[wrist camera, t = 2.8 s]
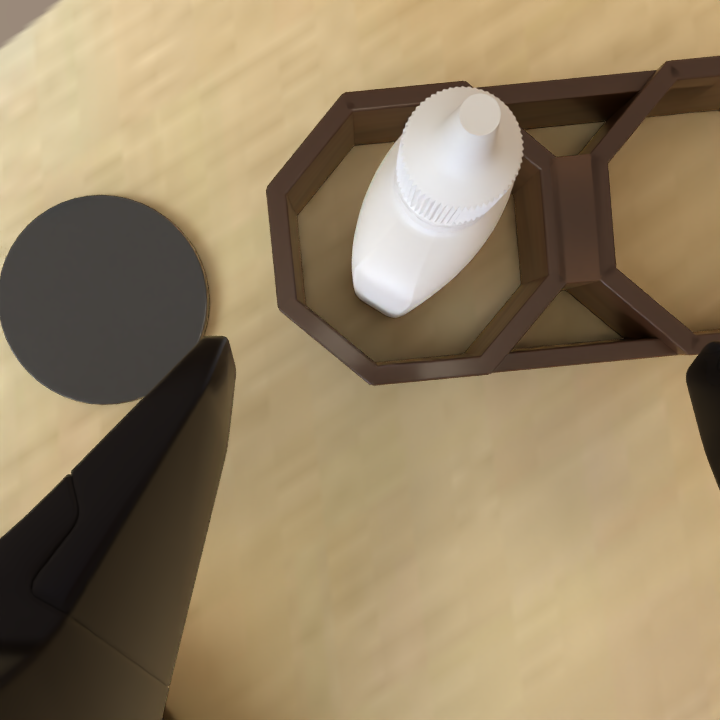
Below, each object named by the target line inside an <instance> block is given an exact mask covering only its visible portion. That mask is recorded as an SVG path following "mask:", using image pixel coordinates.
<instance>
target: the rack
mask: <svg viewBox="0 0 720 720" xmlns="http://www.w3.org/2000/svg"><path fill="white" fill-rule="evenodd" d="M462 86H464V87H466V88H467V87H471V88H473V87H472V86H471V85H470V84H469V83H467V82H466V81H465V82H464V81H457V82H447V83H437V84H426V85H416V86H406V87H396V88H385V89H375V90H365V91H355V92H345V93H344V94H342V95H341V96H340V97H339V98H338V100H337V101H336V102H335V103H334V105H333V106H332V107H331V108H330V110H329V111H328V112H327V113H326V114H325V116H324V117H323V118H322V119H321V121H320V122H319V123H318V124H317V126H316V127H315V128H314V129H313V130H312V132H311V133H310V134H309V135H308V137H307V138H306V139H305V140H304V142H303V143H302V144H301V145H300V147H299V148H298V149H297V150H296V151H295V153H294V154H293V155H292V156H291V158H290V159H289V160H288V161H287V163H286V164H285V165H284V166H283V168H282V169H281V170H280V171H279V172H278V174H277V175H276V176H275V177H274V179H273V180H272V181H271V182H270V184H269V185H268V186H267V189H266V195H267V204H268V214H269V224H270V234H271V244H272V254H273V264H274V274H275V284H276V294H277V303H278V308H279V310H280V311H281V312H282V313H283V314H284V315H286V316H287V317H288V318H289V319H290V320H292V321H293V322H294V323H295V324H296V325H298V326H299V327H300V328H301V329H303V330H304V331H305V332H306V333H307V334H309V335H310V336H311V337H312V338H313V339H315V340H316V341H317V342H318V343H320V344H321V345H322V346H323V347H324V348H326V349H327V350H328V351H329V352H330V353H332V354H333V355H334V356H335V357H337V358H338V359H339V360H340V361H341V362H343V363H344V364H345V365H346V366H347V367H349V368H350V369H351V370H352V371H354V372H355V373H356V374H357V375H358V376H360V377H361V378H362V379H363V380H364V381H366V382H367V383H368V384H370V385H373V386H375V385H385V384H396V383H406V382H417V381H427V380H438V379H448V378H458V377H469V376H479V375H488V374H491V373H496V372H506V371H517V370H527V369H538V368H548V367H558V366H569V365H579V364H590V363H600V362H611V361H621V360H631V359H642V358H652V357H663V356H673V355H698V354H699V353H700V352H701V350H702V349H703V348H704V346H705V345H706V344H707V343H709V342H711V341H720V329H717V330H707V331H697V332H692V331H690V330H689V329H688V328H687V327H686V326H684V325H683V324H682V323H681V322H680V321H678V320H677V319H676V318H675V317H674V316H673V315H671V314H670V313H669V312H668V311H667V310H665V309H664V308H663V307H662V306H661V305H659V304H658V303H657V302H656V301H655V300H653V299H652V298H651V297H650V296H649V295H648V294H646V293H645V292H644V291H643V290H642V289H640V288H639V287H638V286H637V285H636V284H634V283H633V282H632V281H631V280H630V279H629V278H627V277H626V276H625V275H624V274H623V273H621V272H620V271H619V270H618V269H617V268H616V260H615V248H614V235H613V223H612V210H611V197H610V185H609V172H608V163H609V161H610V160H611V159H612V158H613V157H614V155H615V154H616V153H617V152H618V151H619V149H620V148H621V147H622V146H623V144H624V143H625V142H626V141H627V140H628V138H629V137H630V136H631V135H632V134H633V132H634V131H635V130H636V129H637V128H638V126H639V125H640V124H641V123H642V122H643V120H644V119H645V118H646V117H651V116H662V115H672V114H678V113H689V112H699V111H709V110H719V109H720V56H713V57H703V58H693V59H682V60H672V61H666V62H665V63H664V64H663V65H662V66H661V67H660V68H659V69H657V70H653V71H643V72H632V73H622V74H612V75H602V76H591V77H581V78H571V79H561V80H550V81H540V82H530V83H520V84H510V85H499V86H489V87H479V88H477V89H478V90H479V89H482V90H483V91H488V92H489V93H490V94H494V96H495V97H497V98H499V99H500V101H502V102H504V104H505V105H506V106H508V107H509V110H510V111H512V112H513V115H514V116H515V117H516V121H517V122H518V123H519V124H518V126H519V128H520V129H521V131H520V133H521V134H522V135H523V136H522V137H521V139H522V140H523V142H524V143H523V144H522V146H523V148H524V149H523V151H522V153H523V155H524V156H523V157H522V163H521V164H520V167H521V169H520V170H519V171H518V175H517V176H516V177H515V181H514V184H513V187H512V190H511V193H512V194H513V195H514V204H515V216H516V228H517V239H518V251H519V263H520V274H521V286H520V287H519V288H518V289H517V290H516V292H515V293H514V294H513V295H512V296H511V298H510V299H509V300H508V301H507V302H506V304H505V305H504V306H503V307H502V308H501V310H500V311H499V312H498V313H497V314H496V316H495V317H494V318H493V319H492V320H491V322H490V323H489V324H488V325H487V326H486V328H485V329H484V330H483V331H482V332H481V334H480V335H479V336H478V337H477V338H476V340H475V341H474V342H473V343H472V344H471V346H470V347H469V348H468V349H467V350H466V352H465V353H464V354H457V355H447V356H436V357H426V358H415V359H405V360H394V361H384V362H374V361H373V360H371V359H370V358H369V357H368V356H367V355H365V354H364V353H363V352H362V351H361V350H359V349H358V348H357V347H356V346H354V345H353V344H352V343H351V342H350V341H348V340H347V339H346V338H345V337H344V336H342V335H341V334H340V333H339V332H338V331H336V330H335V329H334V328H333V327H331V326H330V325H329V324H328V323H327V322H325V321H324V320H323V319H322V318H321V317H319V316H318V315H317V314H316V313H314V312H313V311H312V310H311V309H310V308H308V307H307V306H306V301H305V291H304V281H303V271H302V261H301V251H300V241H299V231H298V221H297V215H298V214H299V212H300V211H301V210H302V209H303V207H304V206H305V205H306V204H307V203H308V201H309V200H310V199H311V198H312V196H313V195H314V194H315V193H316V191H317V190H318V189H319V188H320V187H321V185H322V184H323V183H324V182H325V180H326V179H327V178H328V177H329V175H330V174H331V173H332V172H333V171H334V169H335V168H336V167H337V166H338V164H339V163H340V162H341V161H342V160H343V158H344V157H345V156H346V155H347V153H348V152H349V151H350V150H351V148H352V147H353V146H354V145H360V144H370V143H381V142H391V141H397V140H398V138H399V137H400V136H401V135H402V133H403V129H405V124H406V123H407V122H408V118H409V117H411V115H412V112H413V111H415V110H416V107H417V106H420V103H421V102H424V101H425V99H426V98H429V97H431V94H437V91H439V92H442V91H443V89H447V90H448V89H449V87H450V88H455V87H462ZM600 121H606V122H605V123H604V124H603V126H602V127H601V128H600V129H599V131H598V132H597V133H596V134H595V135H594V137H593V138H592V139H591V140H590V141H589V143H588V144H587V145H586V146H585V147H584V149H583V150H582V151H581V152H580V153H579V155H572V156H562V157H555V156H554V155H553V154H552V153H550V152H549V151H548V150H547V149H546V148H545V147H543V146H542V145H541V144H540V143H539V142H537V141H536V140H535V139H534V138H533V137H531V136H530V135H529V134H528V133H527V132H526V131H524V130H523V129H528V128H538V127H549V126H559V125H569V124H579V123H590V122H600ZM561 290H567V291H568V292H569V293H570V294H571V295H573V296H574V297H575V298H576V299H577V300H578V301H580V302H581V303H582V304H583V305H584V306H586V307H587V308H588V309H589V310H590V311H592V312H593V313H594V314H595V315H596V316H598V317H599V318H600V319H601V320H602V321H604V322H605V323H606V324H607V325H608V326H610V327H611V328H612V329H613V330H614V331H616V332H617V333H618V334H619V335H620V336H621V337H623V338H624V339H613V340H603V341H592V342H582V343H572V344H561V345H551V346H540V347H530V348H519V349H512V348H513V347H514V346H515V345H516V344H517V342H518V341H519V340H520V339H521V338H522V336H523V335H524V334H525V333H526V332H527V330H528V329H529V328H530V327H531V326H532V324H533V323H534V322H535V321H536V320H537V318H538V317H539V316H540V315H541V314H542V312H543V311H544V310H545V309H546V308H547V306H548V305H549V304H550V303H551V302H552V300H553V299H554V298H555V297H556V296H557V294H558V293H559V292H560V291H561Z"/></svg>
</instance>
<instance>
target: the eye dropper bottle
mask: <svg viewBox="0 0 720 720" xmlns="http://www.w3.org/2000/svg"><path fill="white" fill-rule="evenodd" d="M518 124H519V123H518V122H517V121H516V117H515V116H514V115H513V112H512V111H510V110H509V107H508V106H506V105H505V104H504V102H502V101H500V99H499V98H497V97H495V96H494V94H490V93H489V92H488V91H483V90H482V89H479V90H478V89H477V88H476V87H475V88H471V87H467V88H466V87H464V86H462V87H455V88H450V87H449V89H448V90H447V89H443V91H442V92H439V91H437V94H431V97H429V98H426V99H425V101H424V102H421V103H420V106H417V107H416V110H415V111H413V112H412V115H411V117H409V118H408V122H407V123H406V124H405V129H403V133H402V135H401V136H400V137H399V138H398V140H397V141H396V142H395V143H394V145H393V146H392V147H391V149H390V150H389V151H388V153H387V154H386V156H385V157H384V159H383V161H382V162H381V164H380V166H379V167H378V169H377V171H376V173H375V175H374V177H373V179H372V181H371V183H370V185H369V188H368V190H367V193H366V195H365V198H364V201H363V204H362V207H361V210H360V214H359V217H358V221H357V226H356V230H355V235H354V241H353V248H352V276H353V285H354V290H355V294H356V295H357V296H358V298H359V299H360V300H362V301H363V302H365V303H366V304H368V305H369V306H371V307H373V308H374V309H376V310H378V311H379V312H381V313H383V314H384V315H386V316H388V317H392V318H397V317H401V316H403V315H405V314H406V313H408V312H409V311H411V310H412V309H414V308H415V307H417V306H418V305H420V304H421V303H423V302H424V301H425V300H427V299H428V298H429V297H431V296H432V295H434V294H435V293H436V292H437V291H439V290H440V289H441V288H442V287H444V286H445V285H446V284H447V283H448V282H450V281H451V280H452V279H453V278H454V277H455V276H456V275H457V274H458V273H459V272H460V271H461V270H462V269H463V268H464V267H465V266H466V265H467V264H468V263H469V262H470V261H471V260H472V259H473V257H474V256H475V255H476V254H477V253H478V251H479V250H480V249H481V247H482V246H483V245H484V243H485V242H486V241H487V239H488V237H489V236H490V234H491V233H492V231H493V230H494V228H495V226H496V224H497V223H498V221H499V219H500V217H501V215H502V213H503V211H504V209H505V206H506V204H507V202H508V199H509V197H510V194H511V190H512V187H513V184H514V181H515V177H516V176H517V175H518V171H519V170H520V169H521V167H520V164H521V163H522V157H523V156H524V155H523V153H522V151H523V149H524V148H523V146H522V144H523V143H524V142H523V140H522V139H521V137H522V136H523V135H522V134H521V133H520V131H521V129H520V128H519V126H518Z"/></svg>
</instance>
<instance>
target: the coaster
mask: <svg viewBox="0 0 720 720" xmlns="http://www.w3.org/2000/svg"><path fill="white" fill-rule="evenodd" d="M209 304H210V301H209V288H208V283H207V277H206V274H205V271H204V268H203V265H202V262H201V260H200V258H199V256H198V254H197V252H196V250H195V248H194V247H193V245H192V244H191V242H190V241H189V239H188V238H187V237H186V236H185V235H184V233H183V232H182V231H181V230H180V229H179V228H178V227H177V226H176V225H175V224H174V223H173V222H171V221H170V220H169V219H168V218H166V217H165V216H163V215H162V214H160V213H159V212H157V211H156V210H154V209H152V208H150V207H148V206H146V205H144V204H143V203H140V202H137V201H134V200H131V199H128V198H123V197H118V196H109V195H92V196H84V197H79V198H74V199H71V200H68V201H65V202H62V203H60V204H58V205H56V206H54V207H52V208H50V209H48V210H47V211H45V212H44V213H42V214H41V215H39V216H38V217H37V218H35V219H34V220H33V221H32V222H31V223H30V224H29V225H27V227H26V228H25V229H24V230H23V231H22V232H21V234H20V235H19V236H18V237H17V239H16V241H15V242H14V244H13V245H12V247H11V249H10V251H9V253H8V255H7V257H6V259H5V262H4V265H3V268H2V271H1V276H0V320H1V325H2V329H3V331H4V334H5V337H6V340H7V342H8V344H9V346H10V348H11V350H12V352H13V353H14V355H15V356H16V358H17V359H18V361H19V362H20V364H21V365H22V366H23V367H24V368H25V369H26V370H27V371H28V373H29V374H30V375H32V376H33V377H34V378H35V379H36V380H37V381H38V382H40V383H41V384H43V385H44V386H46V387H47V388H49V389H50V390H52V391H54V392H56V393H58V394H60V395H62V396H64V397H66V398H69V399H72V400H75V401H79V402H84V403H89V404H99V405H109V404H120V403H125V402H130V401H134V400H137V399H140V398H143V397H145V396H146V395H147V394H148V393H149V392H150V391H151V390H152V389H153V388H154V386H155V385H156V384H157V383H158V382H159V381H160V380H161V379H162V378H163V377H164V376H165V375H166V374H167V373H168V372H169V371H170V370H171V369H172V368H173V367H174V366H175V365H176V364H177V363H178V362H179V361H180V360H181V359H182V358H183V357H184V356H185V355H186V354H187V353H188V352H189V351H190V350H191V349H192V348H193V347H194V346H195V345H196V344H197V343H198V342H199V341H200V340H201V339H202V338H203V337H204V334H205V331H206V327H207V322H208V317H209Z"/></svg>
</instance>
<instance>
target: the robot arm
mask: <svg viewBox="0 0 720 720" xmlns="http://www.w3.org/2000/svg"><path fill="white" fill-rule="evenodd" d="M235 380H236V367H235V362H234V359H233V355H232V351H231V347H230V343H229V340H228V339H227V337H225V336H205V337H203V338H202V339H201V340H200V341H199V342H198V343H197V344H196V345H195V346H194V347H193V348H192V349H191V350H190V351H189V352H188V353H187V354H186V355H185V356H184V357H183V358H182V359H181V360H180V361H179V362H178V363H177V364H176V365H175V366H174V367H173V368H172V369H171V370H170V371H169V372H168V373H167V374H166V375H165V376H164V377H163V378H162V379H161V380H160V381H159V382H158V383H157V384H156V385H155V386H154V388H153V389H152V390H151V391H150V392H149V393H148V394H147V395H146V396H145V397H144V398H143V399H142V400H141V401H140V402H139V403H138V404H137V405H136V406H135V407H134V408H133V409H132V410H131V411H130V412H129V413H128V414H127V415H126V416H125V417H124V418H123V419H122V420H121V421H120V422H119V423H118V424H117V425H116V426H115V427H114V428H113V429H112V430H111V431H110V432H109V433H108V434H107V435H106V436H105V437H104V438H103V439H102V440H101V441H100V442H99V443H98V444H97V445H96V446H95V447H94V448H93V449H92V450H91V451H90V452H89V453H88V454H87V455H86V456H85V457H84V458H83V459H82V460H81V461H80V463H79V464H78V465H77V466H76V467H75V468H74V469H73V470H72V471H71V474H68V475H66V476H65V477H64V478H63V480H62V481H61V482H60V483H59V484H58V485H57V486H56V487H55V488H54V489H53V490H52V491H51V492H50V493H49V494H48V495H47V496H46V497H44V498H43V499H42V500H41V501H40V502H39V503H38V504H37V505H36V506H35V507H34V508H33V509H32V510H31V511H30V512H29V513H28V514H27V515H26V516H25V517H24V518H23V519H22V520H20V521H19V522H18V523H17V524H16V525H15V526H14V527H13V528H12V529H10V530H9V531H8V532H7V533H6V534H5V535H4V536H3V537H1V538H0V720H162V716H163V712H164V708H165V704H166V700H167V696H168V691H169V688H168V686H169V685H170V682H171V678H172V674H173V670H174V666H175V662H176V658H177V654H178V650H179V645H180V641H181V637H182V633H183V629H184V625H185V621H186V617H187V613H188V609H189V604H190V600H191V596H192V592H193V588H194V584H195V580H196V576H197V572H198V568H199V563H200V559H201V555H202V551H203V547H204V543H205V539H206V535H207V531H208V527H209V522H210V518H211V514H212V510H213V506H214V502H215V498H216V494H217V490H218V486H219V481H220V477H221V473H222V469H223V465H224V461H225V457H226V452H227V447H228V440H229V432H230V423H231V414H232V406H233V397H234V388H235ZM686 383H687V387H688V391H689V394H690V398H691V402H692V406H693V410H694V413H695V417H696V421H697V425H698V429H699V432H700V436H701V440H702V443H703V447H704V450H705V453H706V456H707V459H708V462H709V464H710V467H711V469H712V472H713V474H714V477H715V480H716V482H717V485H718V487H719V490H720V341H711V342H709V343H707V344H706V345H705V346H704V348H703V349H702V350H701V352H700V353H699V355H698V356H697V357H696V359H695V360H694V361H693V363H692V364H691V365H690V367H689V368H688V370H687V373H686Z"/></svg>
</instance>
